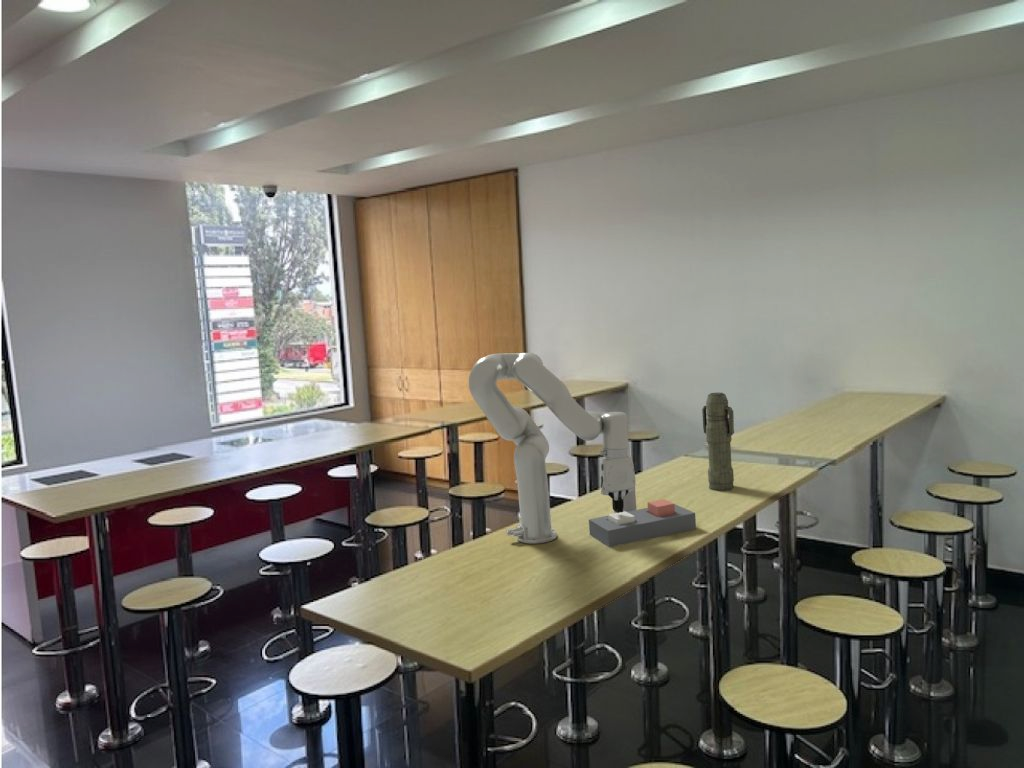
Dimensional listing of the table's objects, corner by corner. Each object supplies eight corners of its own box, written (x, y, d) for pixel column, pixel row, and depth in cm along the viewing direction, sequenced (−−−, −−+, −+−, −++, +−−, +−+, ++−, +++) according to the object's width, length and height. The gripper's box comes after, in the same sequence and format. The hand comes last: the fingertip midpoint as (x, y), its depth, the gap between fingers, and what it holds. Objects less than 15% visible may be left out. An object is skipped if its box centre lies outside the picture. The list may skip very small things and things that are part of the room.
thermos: (731, 492, 257) (727, 395, 252) (701, 489, 264) (696, 395, 260) (742, 486, 263) (737, 392, 259) (711, 483, 271) (707, 391, 267)
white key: (617, 532, 217) (617, 519, 216) (608, 527, 222) (607, 514, 222) (635, 528, 218) (634, 516, 218) (626, 523, 224) (625, 511, 224)
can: (636, 519, 235) (634, 484, 234) (613, 520, 236) (611, 484, 235) (637, 513, 242) (635, 478, 241) (614, 513, 244) (612, 479, 242)
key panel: (609, 547, 212) (607, 530, 211) (589, 534, 224) (588, 519, 224) (696, 528, 222) (695, 513, 221) (673, 517, 234) (672, 502, 233)
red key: (658, 519, 221) (657, 506, 220) (648, 514, 227) (647, 502, 226) (675, 516, 223) (674, 503, 222) (664, 511, 228) (664, 499, 228)
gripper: (599, 458, 212) (601, 518, 214) (644, 452, 217) (645, 511, 219) (588, 453, 219) (590, 511, 221) (632, 447, 224) (633, 504, 226)
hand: (618, 511), depth 220 cm, fingers closed
